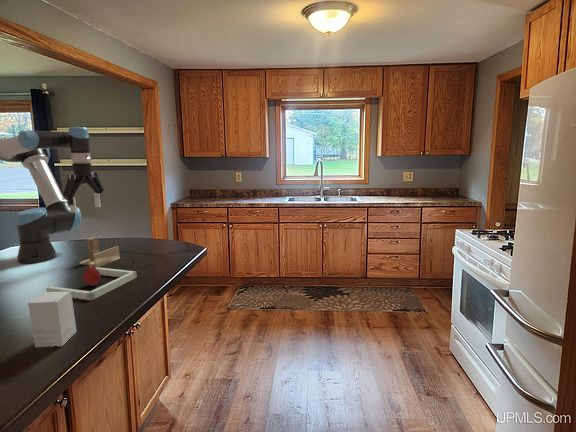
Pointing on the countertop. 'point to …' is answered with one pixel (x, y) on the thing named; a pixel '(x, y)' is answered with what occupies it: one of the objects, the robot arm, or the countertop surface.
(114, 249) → the wooden scraper
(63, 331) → the supplement box
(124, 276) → the sage frame
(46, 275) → the countertop surface
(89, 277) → the red round fruit
